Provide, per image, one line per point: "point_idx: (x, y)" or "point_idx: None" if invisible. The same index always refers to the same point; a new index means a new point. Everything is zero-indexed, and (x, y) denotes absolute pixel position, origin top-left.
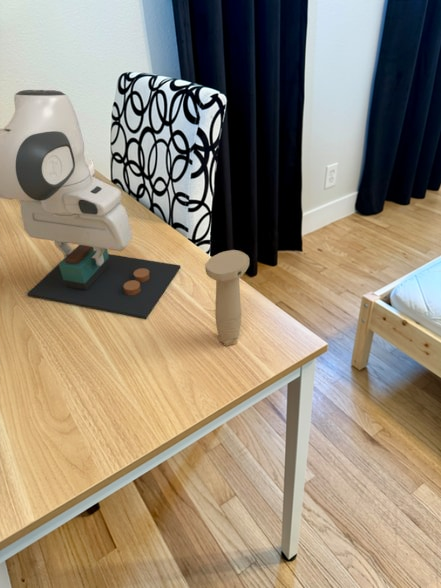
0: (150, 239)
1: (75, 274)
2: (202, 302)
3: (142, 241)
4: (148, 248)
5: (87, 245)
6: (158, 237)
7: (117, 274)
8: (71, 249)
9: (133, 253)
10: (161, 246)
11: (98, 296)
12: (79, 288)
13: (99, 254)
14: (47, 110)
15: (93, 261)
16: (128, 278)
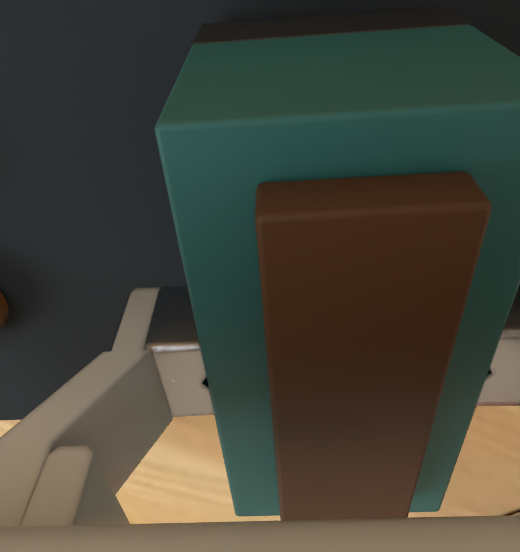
0: (201, 510)
1: (281, 67)
2: None
3: (226, 497)
4: (163, 472)
5: (88, 544)
6: (178, 522)
7: (130, 282)
8: (512, 397)
9: (206, 436)
10: (118, 490)
11: None
12: (278, 19)
13: (42, 407)
14: None
15: (183, 312)
16: (25, 269)
